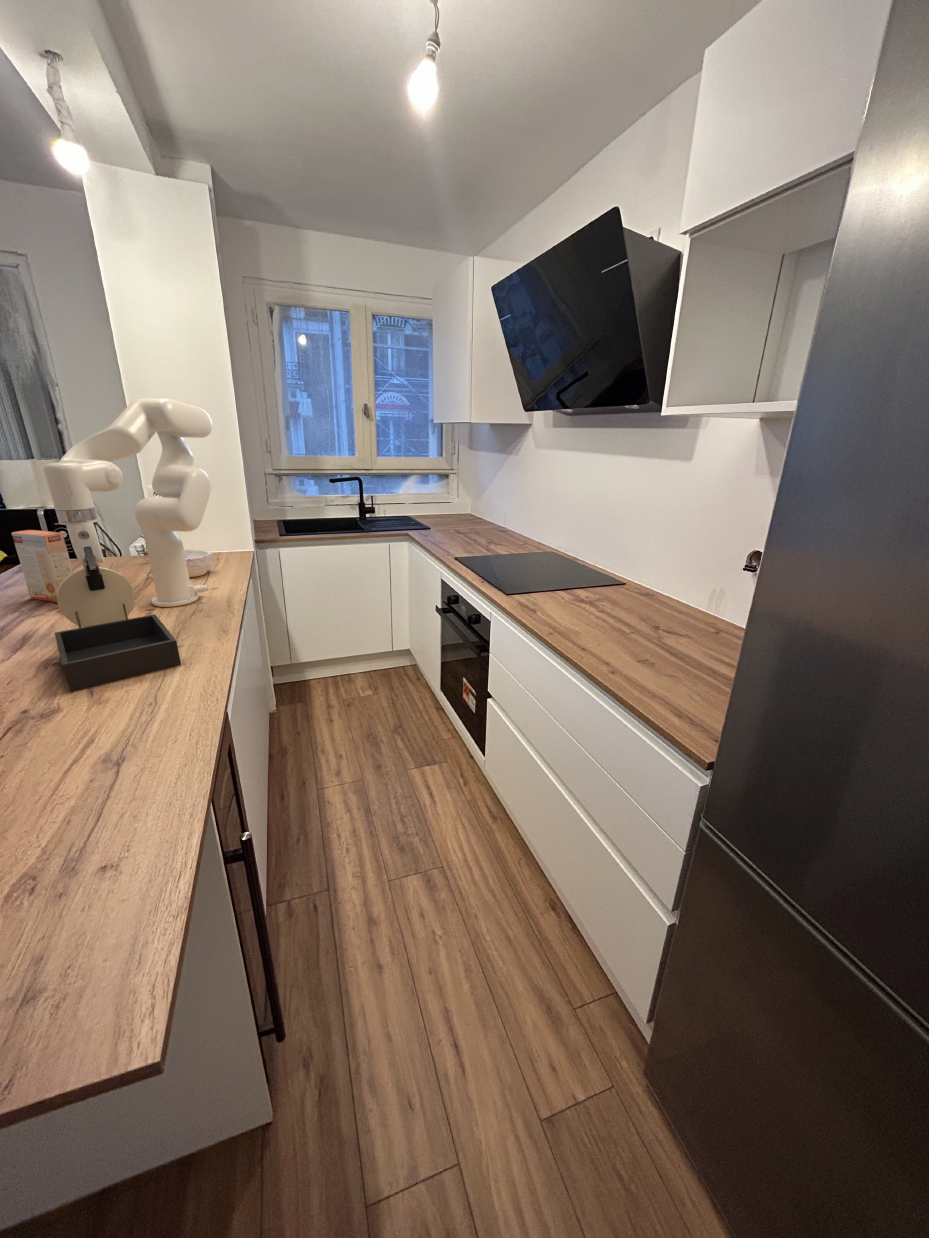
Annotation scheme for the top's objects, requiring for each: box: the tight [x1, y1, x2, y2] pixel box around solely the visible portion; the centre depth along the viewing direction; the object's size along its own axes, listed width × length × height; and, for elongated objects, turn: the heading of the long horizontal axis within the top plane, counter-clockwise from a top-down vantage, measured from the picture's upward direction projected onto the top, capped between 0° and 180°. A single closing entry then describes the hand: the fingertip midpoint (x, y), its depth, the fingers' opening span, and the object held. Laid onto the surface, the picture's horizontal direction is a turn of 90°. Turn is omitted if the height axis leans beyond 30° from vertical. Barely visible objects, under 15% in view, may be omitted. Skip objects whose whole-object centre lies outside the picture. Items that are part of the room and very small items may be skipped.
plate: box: [56, 566, 136, 628], centre depth 124 cm, size 16×1×16 cm, turn 131°
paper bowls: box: [184, 549, 214, 578], centre depth 179 cm, size 15×15×8 cm
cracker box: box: [11, 529, 74, 603], centre depth 148 cm, size 14×6×21 cm, turn 71°
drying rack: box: [75, 604, 130, 628], centre depth 126 cm, size 16×8×7 cm, turn 131°
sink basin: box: [54, 613, 182, 693], centre depth 110 cm, size 20×22×6 cm
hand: (96, 588), depth 123 cm, fingers closed on plate, 1 cm apart
